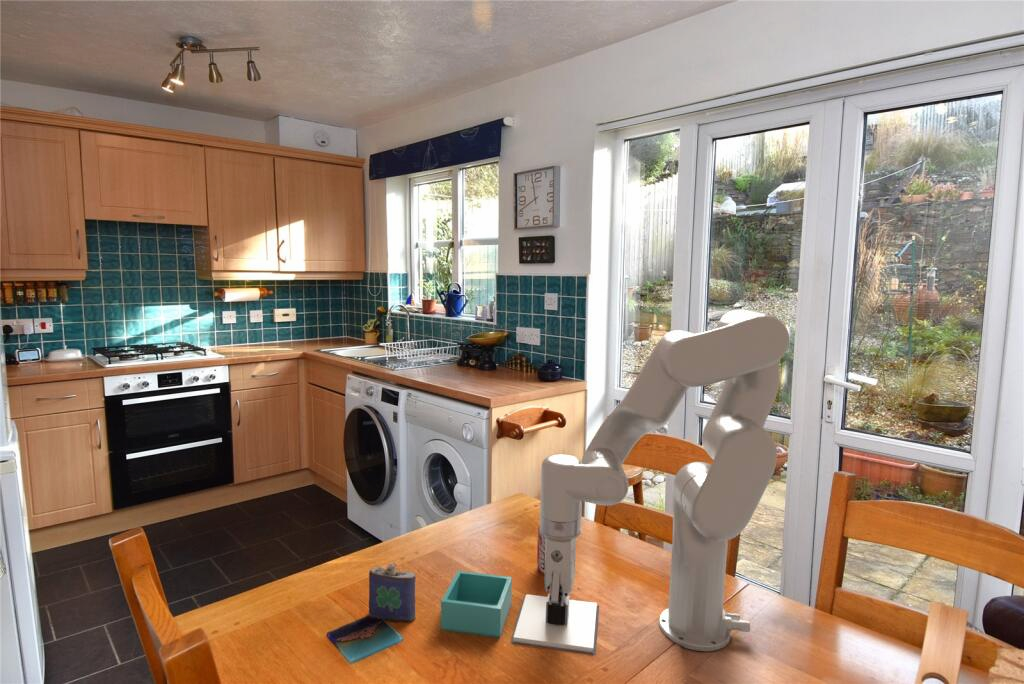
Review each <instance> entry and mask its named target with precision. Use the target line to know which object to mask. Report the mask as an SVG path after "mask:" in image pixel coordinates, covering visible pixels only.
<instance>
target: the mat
mask: <svg viewBox="0 0 1024 684" xmlns="http://www.w3.org/2000/svg"><path fill="white" fill-rule="evenodd" d="M525 597H526V595H525V596H523V599H522V602H521V605H520V609H519V612H518V615H517V619H516V622H515V625H514V629H513V632H512V634H511V639H510V641H509V643H510V644H516V645H522V646H530V647H537V648H544V649H550V650H557V651H564V652H565V651H566V652H573V653H579V654H587V655H594V656H596V655H597V643H598V630H599V616H600V614H599V613H600V605H598V604H597V609H596V622H595V635H594V647H593V652H586V651H579V650H572V649H565V648H558V647H550V646H543V645H536V644H529V643H522V642H514V641H513V637H514V634H515V630H516V627H517V624H518V620H519V617H520V614H521V610H522V607H523V603H524V600H525Z"/></svg>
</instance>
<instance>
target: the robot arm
mask: <svg viewBox="0 0 1024 684" xmlns="http://www.w3.org/2000/svg"><path fill="white" fill-rule="evenodd" d="M789 346H790V333H789V331H788V328H787V327H786V325H785V324H784V323H783V322H782V321H781V320H780V319H779V318H777V317H775V316H774V315H771V314H767V313H763V312H758V311H755V310H748V309H742V308H741V309H734V310H731V311H727V312H726V313H725V314H724V315H723V316H722V317H720V319H719V320H718V323H717V325H716V328H714V329H712V330H708V331H704V332H699V333H694V332H690V331H687V330H676V329H675V330H672V331H669V332H667V333H666V334H664V335H663V336H662V337H661V338H660V339H659V341H658V342H657V343H656V345H655V346H654V348H653V350H652V351H651V353H650V355H649V357H648V358H647V360H646V362H644V365H643V367H642V368H641V369H640V372H639V373H638V375H637V377H636V378H635V380H634V381H633V383H632V384H631V386H630V388H629V389H628V391H627V393H626V394H625V396H624V397H623V399H622V400H621V401H620V402H619V403H618V404H617V405H616V407H615V408H614V409H613V411H612V412H611V413H610V414H609V415H608V416H606V419H605V420H603V422H602V424H601V425H600V427H599V428H598V430H597V431H596V433H595V435H594V437H593V438H592V439H591V441H590V442H589V445H588V446H587V448H586V450H585V452H584V453H583V455H582V458H581V460H580V459H579V458H578V457H576V456H574V455H571V454H570V455H569V454H563V453H562V454H561V453H558V454H557V453H556V454H551V455H549V456H548V455H547V456H546V457H545V458H544V459H543V460H542V463H541V468H540V470H541V471H540V503H539V505H540V506H539V507H540V508H539V525H540V533H541V534H542V535H543V536H545V537H546V540H545V575H544V590H545V591H546V592H548V593H549V601H548V618H547V622H548V623H549V624H557V625H564V624H565V611H566V603H564V597H565V596H569V595H570V594H571V593H572V592H573V589H574V581H575V576H576V549H577V548H576V545H577V544H576V541H577V540H576V539H577V538H578V537H579V536H580V535H581V534H582V511H583V510H582V508H583V506H582V505H583V502H585V503H589V504H594V505H600V506H607V507H608V506H614V505H617V504H619V503H621V502H622V501H623V500H625V498H626V497H627V494H628V492H629V486H630V485H629V480H628V477H627V475H626V473H625V471H624V468H623V467H622V466H623V464H624V462H625V460H626V459H627V457H628V455H629V454H630V452H631V451H632V449H633V447H635V445H636V444H637V443H638V442H639V440H640V439H641V438H643V437H644V436H645V435H646V434H648V433H650V432H653V431H657V430H659V429H661V428H662V427H665V426H666V424H667V423H668V422H669V421H670V419H671V417H672V415H673V414H674V412H675V411H676V410H677V407H678V406H679V404H680V402H681V401H682V399H683V398H684V396H685V394H686V393H687V391H688V390H689V388H699V387H705V386H709V385H713V384H717V383H720V382H723V381H724V382H725V383H724V385H723V388H722V391H721V393H720V395H719V397H718V399H717V401H716V403H715V405H714V407H713V409H712V411H711V414H710V416H709V417H708V419H707V421H706V423H705V426H704V428H703V430H702V433H701V443H702V447H703V448H704V451H705V452H706V453H707V454H708V455H709V457H710V458H711V459H712V462H711V464H710V463H708V462H705V461H693V462H689V463H687V464H685V465H683V466H682V467H681V468H680V469H679V470H678V472H677V473H676V475H675V477H674V479H673V482H672V487H671V490H672V491H671V492H672V493H671V501H672V544H671V557H670V558H671V561H670V575H669V577H670V578H669V579H670V580H669V591H668V592H669V593H668V597H669V598H668V608H666V609H664V610H663V611H662V612H661V613H660V615H659V618H658V625H659V628H660V630H661V632H662V633H663V635H665V637H667V638H668V639H669V640H671V641H672V642H674V643H676V644H677V645H679V647H682V648H684V649H688V650H690V651H691V650H692V651H697V652H713V651H718V650H720V649H723V648H725V647H726V646H727V645H728V644H729V642H730V640H731V632H732V631H738V632H741V633H742V632H743V633H750V632H751V622H750V620H745V619H741V614H740V613H738V612H727V610H725V609H724V601H725V587H726V586H725V584H726V574H727V573H726V569H727V556H728V543H729V540H732V539H734V538H736V537H737V536H739V535H740V534H741V533H742V532H743V531H744V530H745V528H746V527H747V526H748V524H749V523H750V521H751V519H752V517H753V515H754V514H755V512H756V509H757V508H758V505H759V503H760V501H761V499H762V497H763V495H764V493H765V492H766V489H767V487H768V485H769V483H770V481H771V479H772V477H773V475H774V472H775V469H776V466H777V461H778V460H777V459H778V450H777V444H776V442H775V440H774V438H773V436H771V434H770V433H769V432H768V431H767V430H766V429H765V428H764V426H765V424H766V421H767V419H768V418H769V415H770V412H771V409H772V407H773V405H774V403H775V400H776V397H777V394H778V391H779V386H780V379H781V378H780V366H779V361H780V360H781V359H782V358H783V357H784V356H785V354H786V353H787V351H788V349H789ZM559 595H561V596H559Z"/></svg>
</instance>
